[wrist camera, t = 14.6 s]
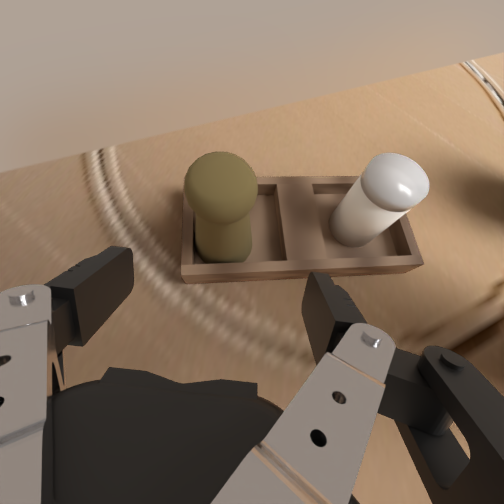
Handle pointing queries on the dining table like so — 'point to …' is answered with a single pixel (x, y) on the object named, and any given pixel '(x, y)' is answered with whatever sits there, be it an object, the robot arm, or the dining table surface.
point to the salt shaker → (378, 199)
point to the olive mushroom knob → (221, 206)
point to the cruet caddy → (301, 237)
